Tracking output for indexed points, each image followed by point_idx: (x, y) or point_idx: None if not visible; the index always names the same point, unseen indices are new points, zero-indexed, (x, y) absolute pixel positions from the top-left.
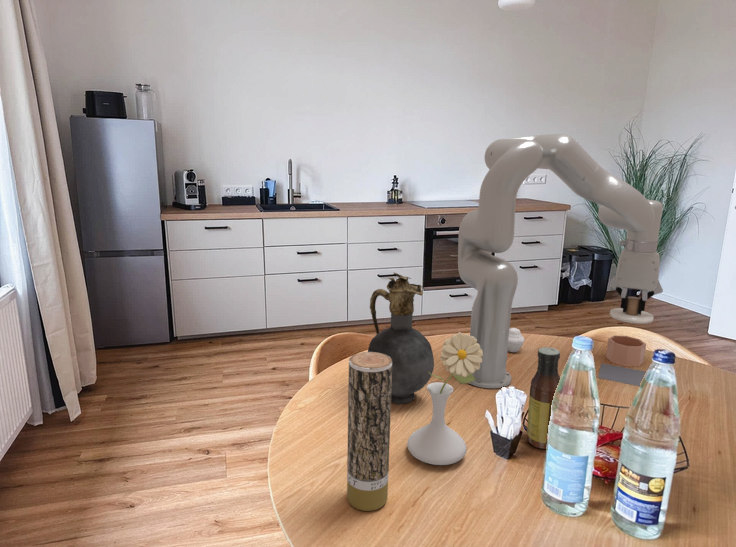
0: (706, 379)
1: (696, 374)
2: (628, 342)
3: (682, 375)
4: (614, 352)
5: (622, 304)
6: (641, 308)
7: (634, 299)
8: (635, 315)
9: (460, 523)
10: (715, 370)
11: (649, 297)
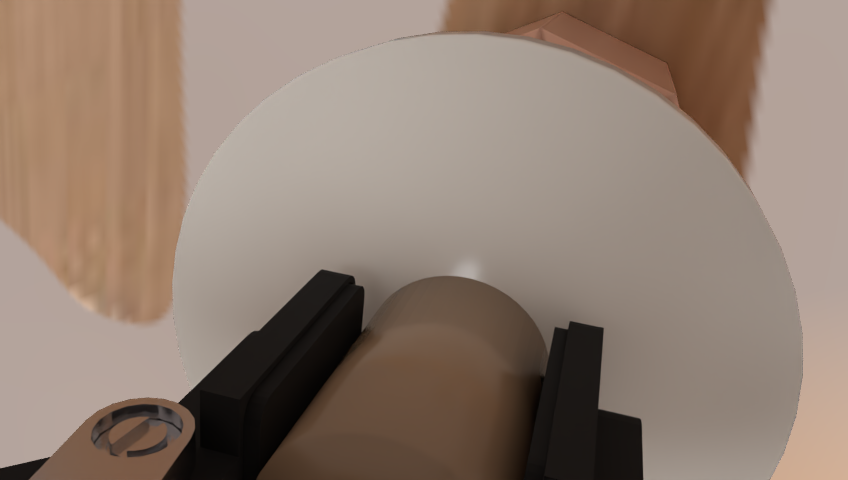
0: (49, 15)
1: (100, 85)
2: None
3: (176, 25)
4: (657, 72)
5: (612, 444)
6: (283, 311)
7: (365, 447)
8: (406, 288)
9: None
10: (11, 203)
11: (32, 463)
